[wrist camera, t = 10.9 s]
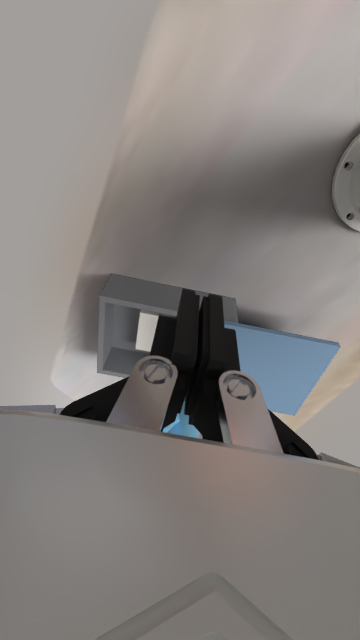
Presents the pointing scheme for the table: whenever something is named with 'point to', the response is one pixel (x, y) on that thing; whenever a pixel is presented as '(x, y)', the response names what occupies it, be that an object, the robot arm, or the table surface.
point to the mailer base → (137, 320)
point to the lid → (282, 363)
